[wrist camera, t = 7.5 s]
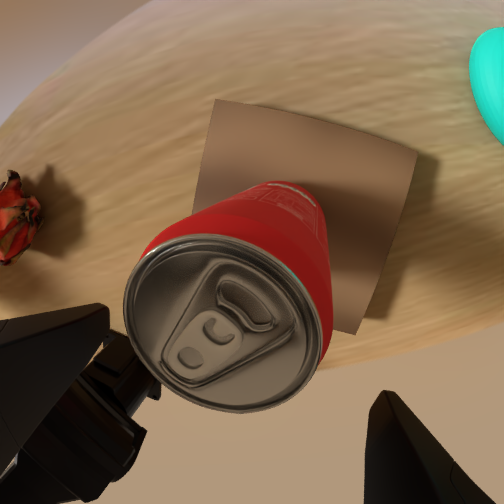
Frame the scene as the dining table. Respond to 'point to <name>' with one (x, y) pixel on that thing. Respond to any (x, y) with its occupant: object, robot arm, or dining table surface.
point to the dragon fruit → (16, 219)
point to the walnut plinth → (316, 187)
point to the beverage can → (236, 300)
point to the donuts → (489, 79)
